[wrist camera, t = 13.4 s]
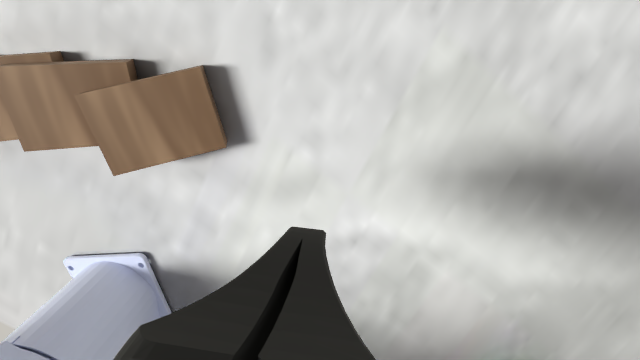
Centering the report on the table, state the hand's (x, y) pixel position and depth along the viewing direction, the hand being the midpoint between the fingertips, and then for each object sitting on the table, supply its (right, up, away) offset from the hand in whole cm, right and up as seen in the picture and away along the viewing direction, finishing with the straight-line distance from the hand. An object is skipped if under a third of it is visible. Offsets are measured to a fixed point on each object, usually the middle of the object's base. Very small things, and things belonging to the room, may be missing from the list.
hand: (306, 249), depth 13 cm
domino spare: (-6, +7, +8) cm, 13 cm away
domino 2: (-11, +8, +9) cm, 16 cm away
